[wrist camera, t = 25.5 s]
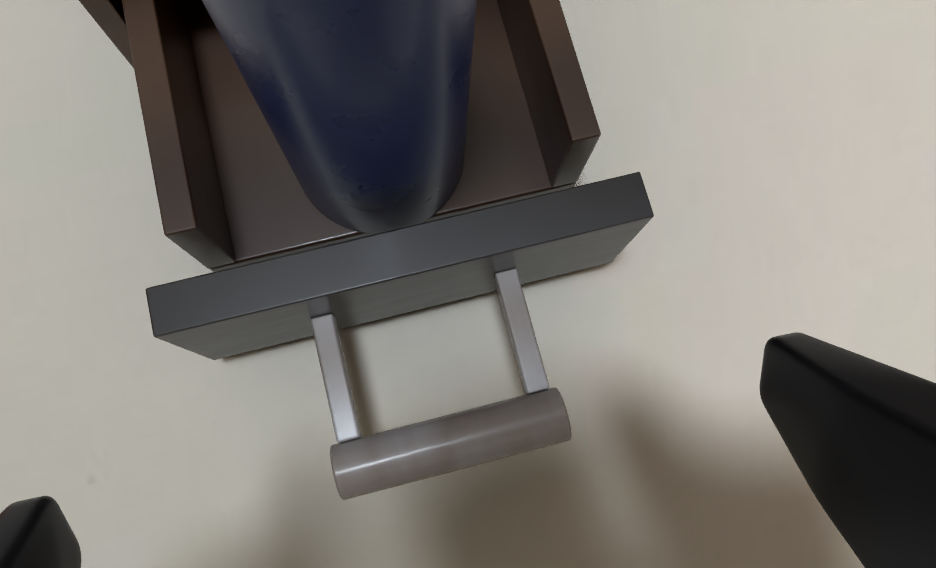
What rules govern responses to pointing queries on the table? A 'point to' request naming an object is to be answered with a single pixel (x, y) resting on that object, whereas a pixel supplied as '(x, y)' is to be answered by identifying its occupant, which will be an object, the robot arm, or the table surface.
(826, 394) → the robot arm
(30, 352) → the table surface
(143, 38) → the drawer
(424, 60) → the tin
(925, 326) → the table surface
